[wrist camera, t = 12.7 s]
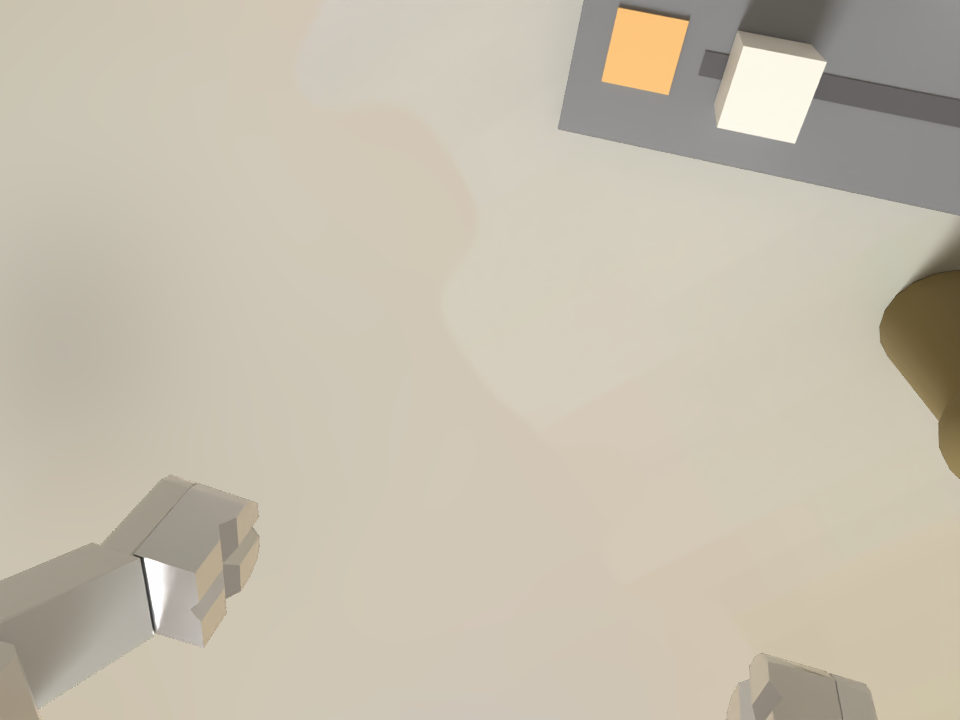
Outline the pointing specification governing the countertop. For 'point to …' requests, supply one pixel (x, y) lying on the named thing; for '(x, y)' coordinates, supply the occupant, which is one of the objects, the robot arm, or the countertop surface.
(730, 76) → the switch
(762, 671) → the robot arm
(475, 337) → the countertop surface
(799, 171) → the switch panel
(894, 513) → the countertop surface
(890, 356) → the cork
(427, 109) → the countertop surface
